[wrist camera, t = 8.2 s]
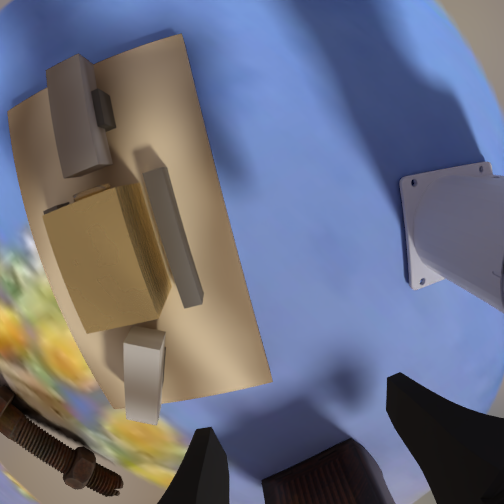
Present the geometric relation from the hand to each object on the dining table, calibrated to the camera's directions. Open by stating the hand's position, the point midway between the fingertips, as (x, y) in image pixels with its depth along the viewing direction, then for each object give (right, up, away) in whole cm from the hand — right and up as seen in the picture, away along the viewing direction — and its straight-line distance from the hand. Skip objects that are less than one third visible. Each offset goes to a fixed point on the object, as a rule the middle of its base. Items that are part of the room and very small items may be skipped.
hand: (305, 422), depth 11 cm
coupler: (-9, +7, +5) cm, 13 cm away
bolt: (-21, -12, +11) cm, 27 cm away
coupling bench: (-9, +7, +7) cm, 14 cm away
